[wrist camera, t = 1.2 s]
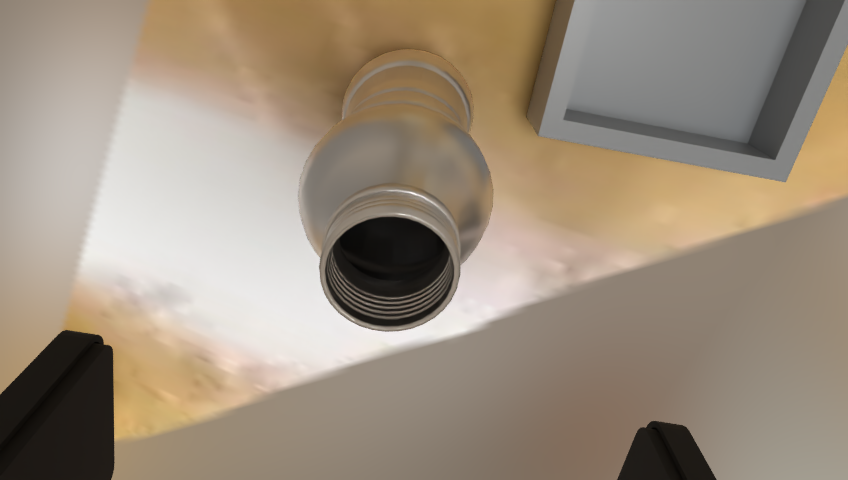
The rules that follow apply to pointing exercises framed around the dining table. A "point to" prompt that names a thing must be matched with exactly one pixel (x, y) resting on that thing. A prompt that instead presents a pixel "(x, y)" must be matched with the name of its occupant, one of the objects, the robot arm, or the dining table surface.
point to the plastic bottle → (397, 192)
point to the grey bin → (690, 78)
